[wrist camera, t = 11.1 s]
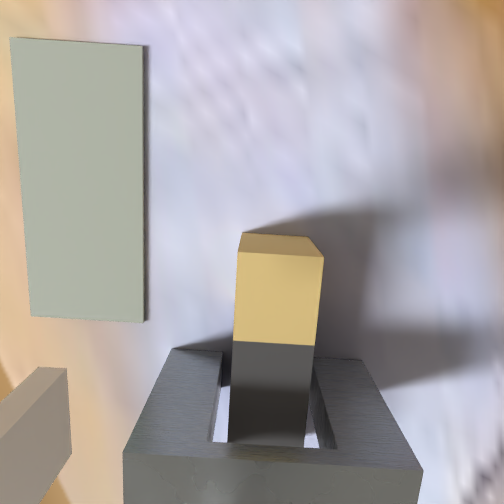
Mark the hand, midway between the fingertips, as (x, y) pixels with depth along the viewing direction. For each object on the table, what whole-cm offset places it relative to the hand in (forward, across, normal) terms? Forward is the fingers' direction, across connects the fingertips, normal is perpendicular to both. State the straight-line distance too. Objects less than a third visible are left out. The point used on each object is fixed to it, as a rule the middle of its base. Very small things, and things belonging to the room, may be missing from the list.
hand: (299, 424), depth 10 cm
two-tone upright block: (+15, 0, +5) cm, 16 cm away
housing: (+15, 0, +8) cm, 17 cm away
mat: (+15, +13, -5) cm, 21 cm away
